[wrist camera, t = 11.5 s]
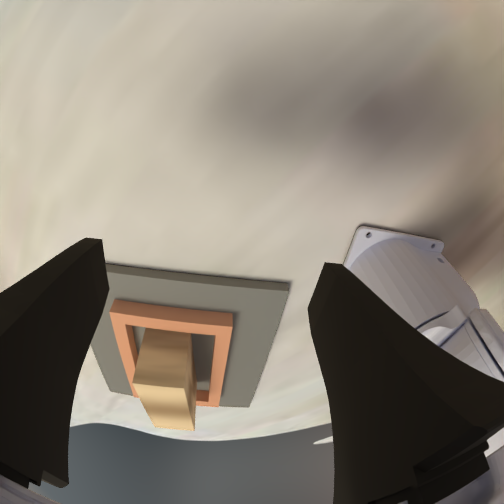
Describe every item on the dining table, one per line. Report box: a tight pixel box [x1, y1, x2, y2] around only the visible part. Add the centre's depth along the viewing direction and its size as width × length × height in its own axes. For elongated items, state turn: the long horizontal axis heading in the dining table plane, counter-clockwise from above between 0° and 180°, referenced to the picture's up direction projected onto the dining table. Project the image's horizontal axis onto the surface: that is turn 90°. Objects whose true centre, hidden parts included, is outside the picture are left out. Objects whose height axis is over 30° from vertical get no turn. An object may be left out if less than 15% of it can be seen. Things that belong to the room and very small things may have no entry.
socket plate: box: [91, 264, 289, 407], centre depth 26 cm, size 18×20×2 cm
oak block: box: [132, 328, 197, 431], centre depth 23 cm, size 9×4×6 cm, turn 176°
